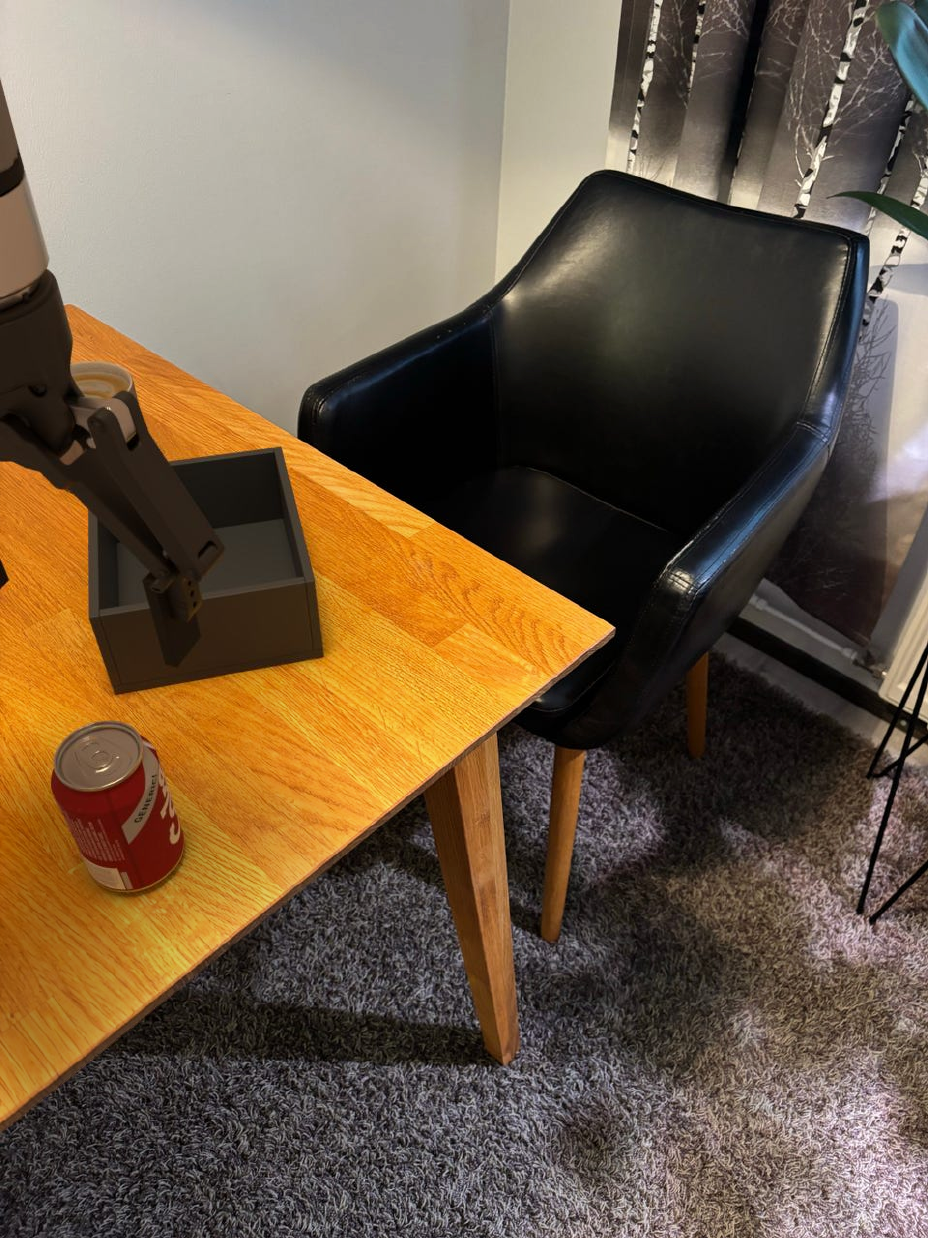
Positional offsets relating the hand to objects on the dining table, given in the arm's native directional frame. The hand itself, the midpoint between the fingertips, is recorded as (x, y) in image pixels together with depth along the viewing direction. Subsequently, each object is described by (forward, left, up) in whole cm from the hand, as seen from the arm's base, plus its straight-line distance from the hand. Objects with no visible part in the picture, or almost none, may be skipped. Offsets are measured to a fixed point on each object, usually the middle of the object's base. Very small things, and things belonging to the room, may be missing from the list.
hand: (84, 621), depth 58 cm
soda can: (-1, -3, -21) cm, 21 cm away
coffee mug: (-3, +48, -21) cm, 52 cm away
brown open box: (+6, +23, -21) cm, 31 cm away
